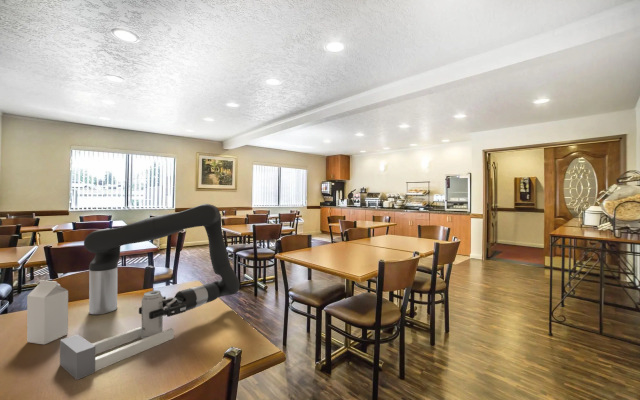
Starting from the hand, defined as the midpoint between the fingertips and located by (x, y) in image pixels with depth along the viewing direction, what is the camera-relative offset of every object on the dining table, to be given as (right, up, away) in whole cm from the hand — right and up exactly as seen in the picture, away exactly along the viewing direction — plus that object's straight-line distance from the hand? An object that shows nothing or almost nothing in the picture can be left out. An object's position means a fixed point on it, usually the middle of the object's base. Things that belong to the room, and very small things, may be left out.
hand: (144, 313), depth 94 cm
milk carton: (-33, -9, +1) cm, 34 cm away
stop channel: (-4, -9, -5) cm, 11 cm away
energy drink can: (+1, -9, +2) cm, 10 cm away
